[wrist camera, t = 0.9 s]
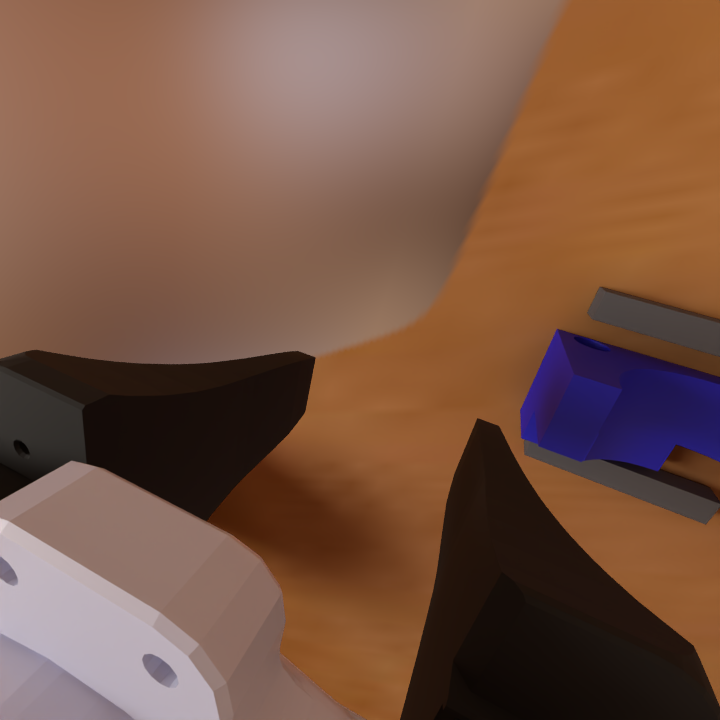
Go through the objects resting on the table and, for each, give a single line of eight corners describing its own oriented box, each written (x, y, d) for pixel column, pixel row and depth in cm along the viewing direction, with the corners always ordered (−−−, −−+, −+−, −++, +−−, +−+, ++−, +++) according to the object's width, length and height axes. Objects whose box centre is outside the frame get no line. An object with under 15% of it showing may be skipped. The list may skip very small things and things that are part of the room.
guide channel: (695, 506, 19) (705, 524, 18) (523, 442, 21) (524, 454, 19) (819, 347, 15) (842, 357, 14) (599, 286, 17) (605, 291, 16)
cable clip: (520, 408, 20) (522, 478, 15) (556, 327, 18) (574, 374, 13) (796, 505, 17) (918, 632, 12) (871, 421, 16) (1056, 528, 10)
